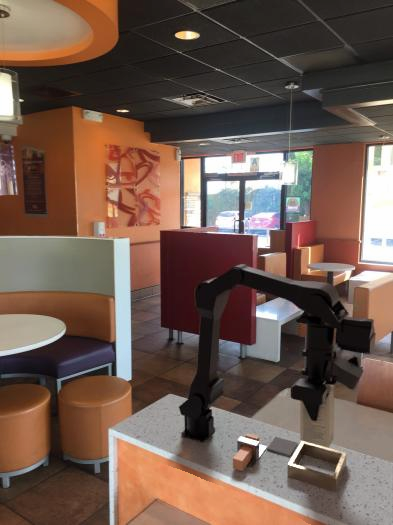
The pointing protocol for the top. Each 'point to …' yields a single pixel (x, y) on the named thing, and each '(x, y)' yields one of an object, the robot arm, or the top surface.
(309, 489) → the top surface
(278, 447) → the coaster
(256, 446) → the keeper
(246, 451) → the lock bar
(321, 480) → the open wooden box
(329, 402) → the skincare box
